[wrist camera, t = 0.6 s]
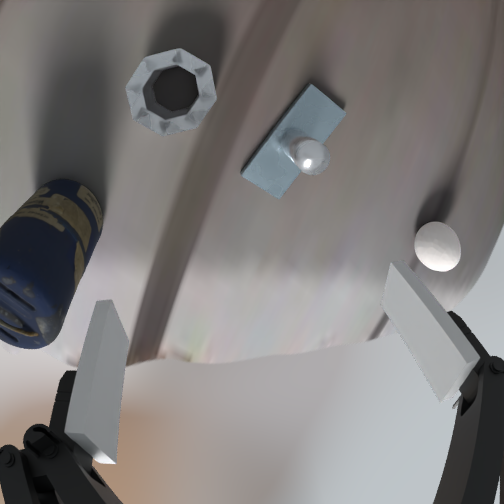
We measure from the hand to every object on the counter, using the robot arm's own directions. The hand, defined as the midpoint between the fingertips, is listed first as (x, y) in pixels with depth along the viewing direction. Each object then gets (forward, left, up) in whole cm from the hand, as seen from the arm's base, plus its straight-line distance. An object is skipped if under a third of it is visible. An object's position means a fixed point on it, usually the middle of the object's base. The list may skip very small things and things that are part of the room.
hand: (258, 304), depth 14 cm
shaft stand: (+5, +6, -22) cm, 23 cm away
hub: (-8, +4, -22) cm, 24 cm away
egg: (+29, +8, -22) cm, 37 cm away
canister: (-12, -14, -22) cm, 29 cm away
